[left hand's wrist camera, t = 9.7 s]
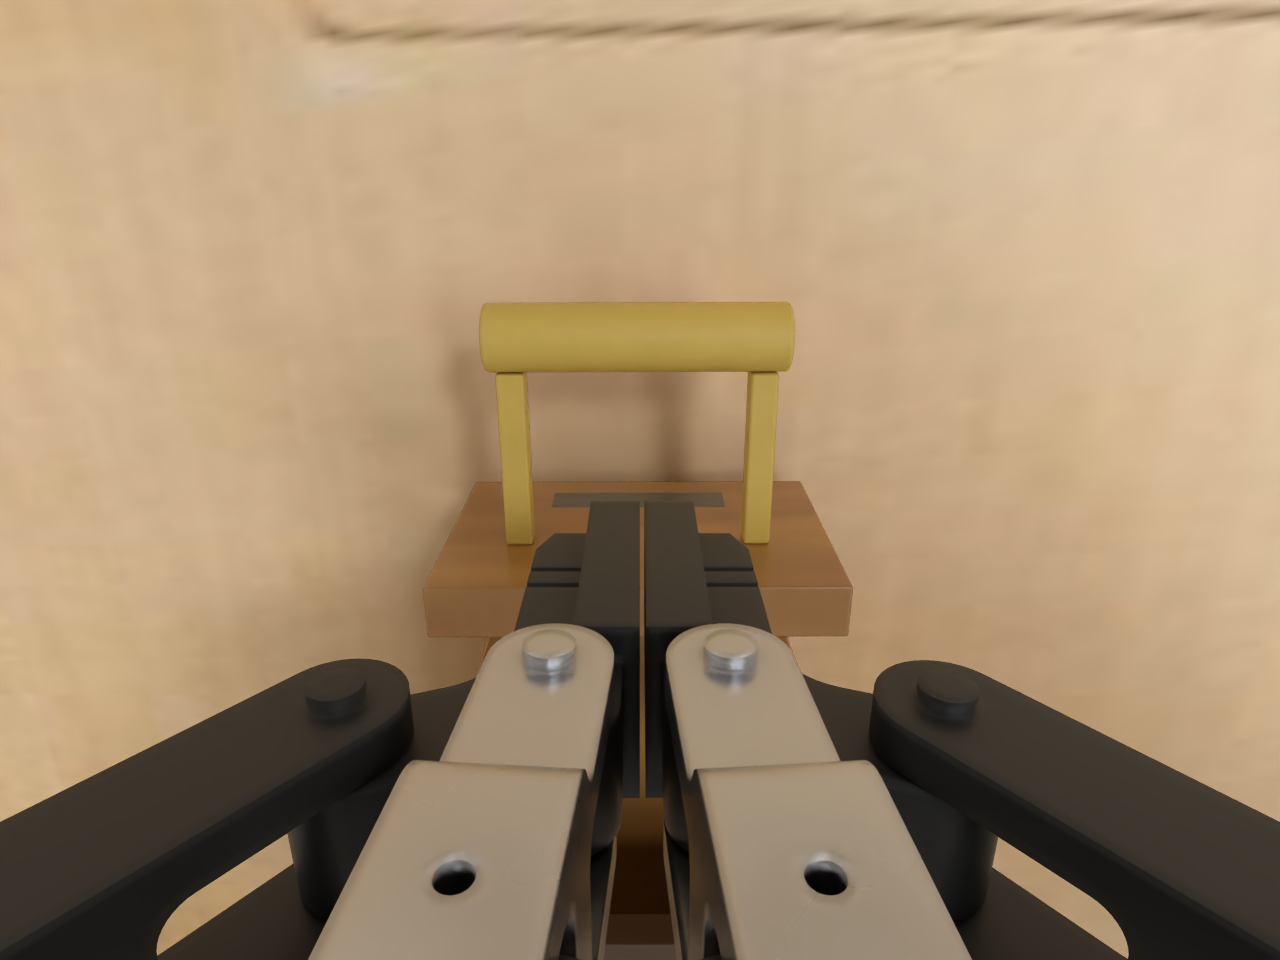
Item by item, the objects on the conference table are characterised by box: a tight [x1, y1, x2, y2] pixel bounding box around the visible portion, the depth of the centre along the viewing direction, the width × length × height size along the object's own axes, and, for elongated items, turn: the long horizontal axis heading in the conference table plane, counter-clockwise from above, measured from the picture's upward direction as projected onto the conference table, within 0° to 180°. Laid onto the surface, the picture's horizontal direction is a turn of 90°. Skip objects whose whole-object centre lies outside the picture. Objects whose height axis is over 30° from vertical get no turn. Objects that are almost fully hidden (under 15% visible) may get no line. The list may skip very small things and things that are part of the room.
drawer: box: [423, 302, 853, 914], centre depth 22 cm, size 25×9×6 cm, turn 0°
